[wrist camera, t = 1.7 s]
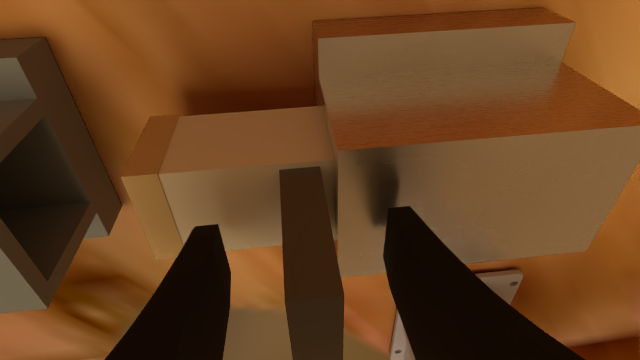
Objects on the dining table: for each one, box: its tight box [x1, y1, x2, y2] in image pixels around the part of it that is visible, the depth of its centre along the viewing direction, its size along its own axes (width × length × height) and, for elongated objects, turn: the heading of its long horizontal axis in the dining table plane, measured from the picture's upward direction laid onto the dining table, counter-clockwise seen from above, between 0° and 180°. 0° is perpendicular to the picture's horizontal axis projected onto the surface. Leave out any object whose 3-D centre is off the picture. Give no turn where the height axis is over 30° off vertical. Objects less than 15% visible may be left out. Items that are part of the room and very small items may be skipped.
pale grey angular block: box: [121, 106, 344, 360], centre depth 12 cm, size 14×4×8 cm, turn 91°
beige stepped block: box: [312, 8, 640, 277], centre depth 15 cm, size 9×8×7 cm
